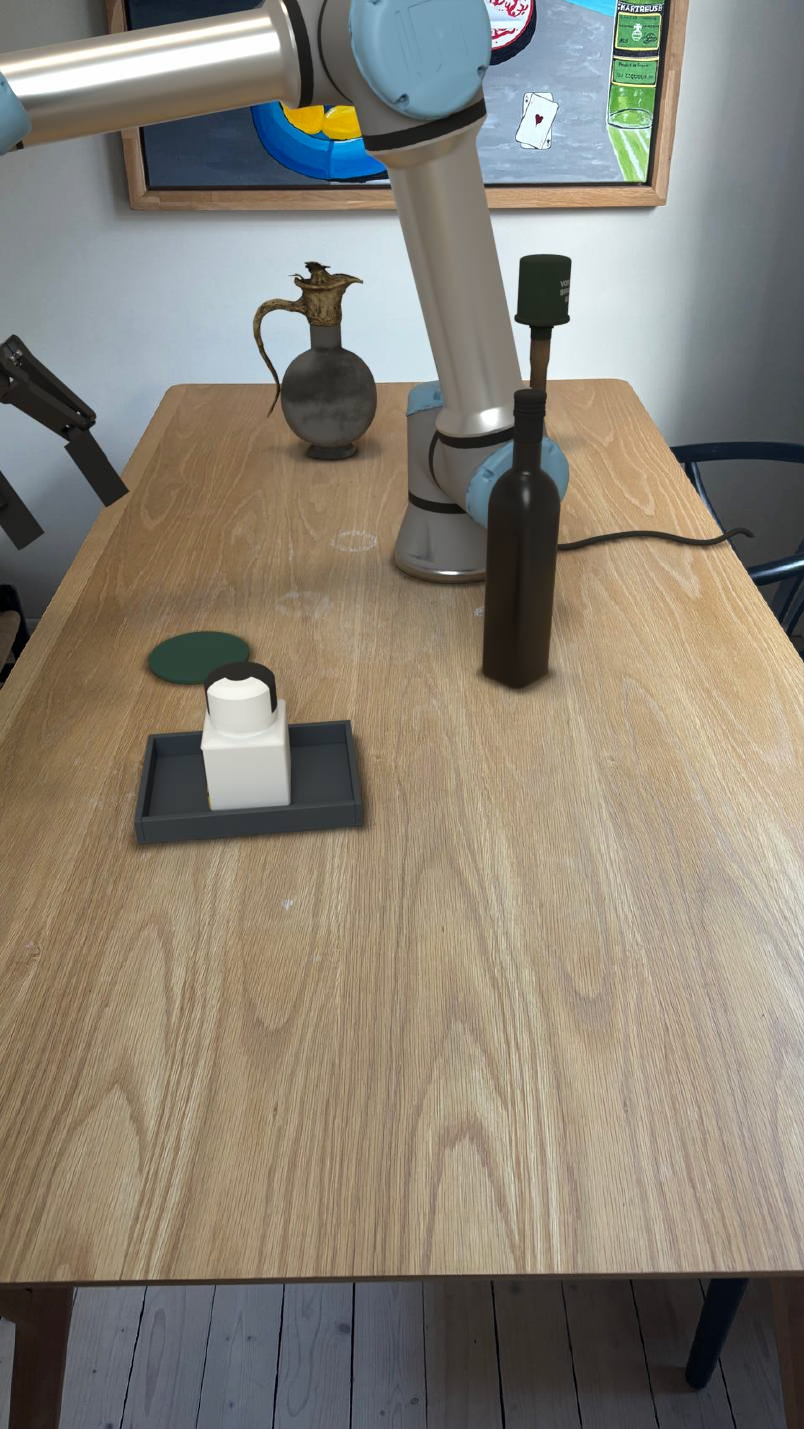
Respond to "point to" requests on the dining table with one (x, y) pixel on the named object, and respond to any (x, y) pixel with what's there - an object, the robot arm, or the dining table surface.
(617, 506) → the dining table surface
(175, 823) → the tray
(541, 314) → the stick grenade
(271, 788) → the medicine bottle
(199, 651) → the coaster
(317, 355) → the pitcher
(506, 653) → the wine bottle
